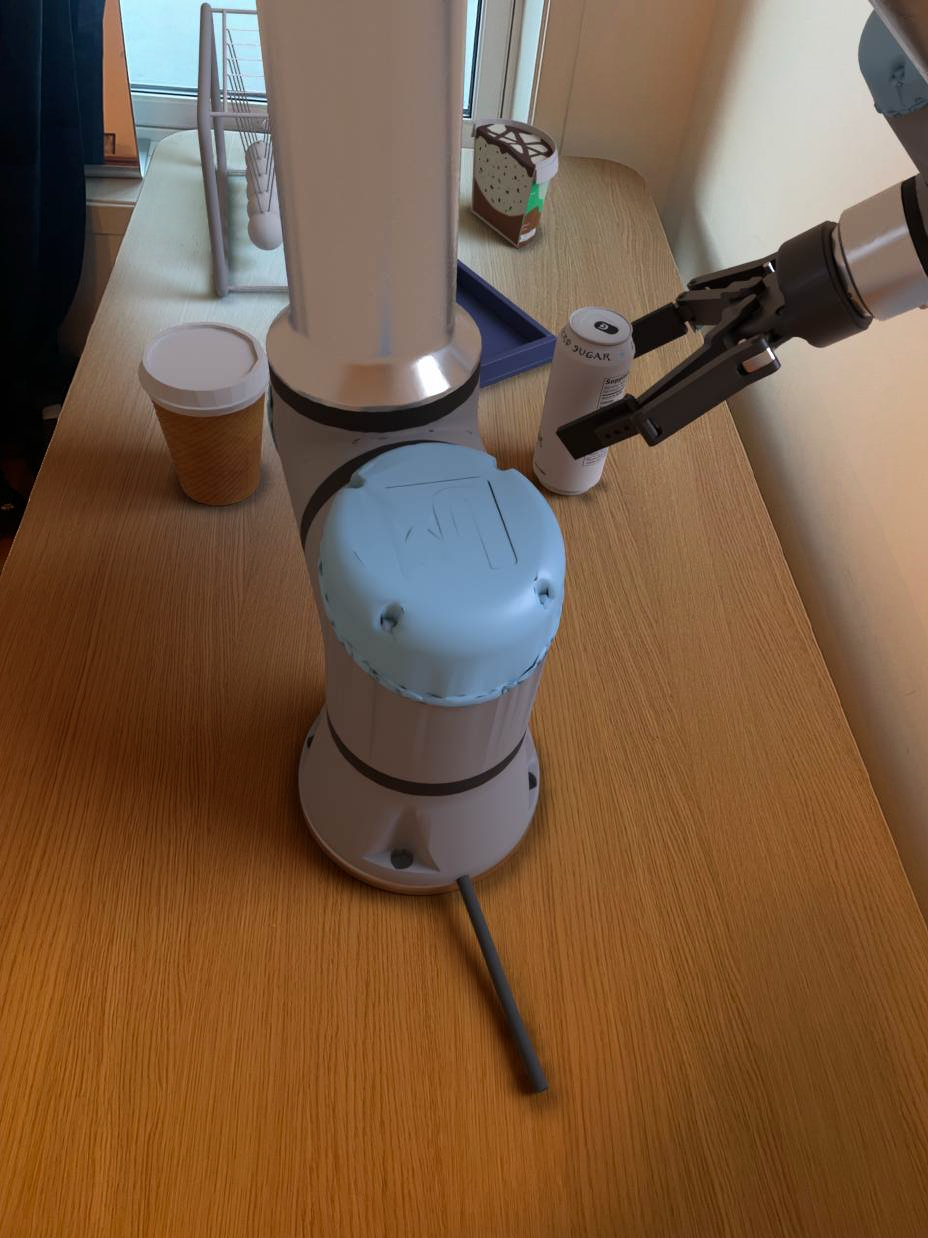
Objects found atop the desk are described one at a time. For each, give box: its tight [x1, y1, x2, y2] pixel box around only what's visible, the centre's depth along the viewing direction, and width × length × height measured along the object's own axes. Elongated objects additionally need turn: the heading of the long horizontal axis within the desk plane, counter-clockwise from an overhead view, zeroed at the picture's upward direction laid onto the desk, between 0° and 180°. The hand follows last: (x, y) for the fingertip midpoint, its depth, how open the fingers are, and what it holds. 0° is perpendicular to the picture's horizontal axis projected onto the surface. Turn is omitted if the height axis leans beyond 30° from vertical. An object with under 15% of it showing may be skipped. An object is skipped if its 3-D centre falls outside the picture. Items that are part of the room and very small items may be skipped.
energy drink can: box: [532, 306, 635, 496], centre depth 76 cm, size 6×6×15 cm
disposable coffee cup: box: [137, 321, 270, 506], centre depth 72 cm, size 10×10×12 cm
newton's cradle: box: [196, 2, 288, 298], centre depth 97 cm, size 30×10×18 cm, turn 9°
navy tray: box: [456, 258, 557, 389], centre depth 92 cm, size 17×17×3 cm
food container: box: [470, 117, 559, 249], centre depth 106 cm, size 12×6×10 cm, turn 34°
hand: (590, 395), depth 75 cm, fingers open, 13 cm apart
